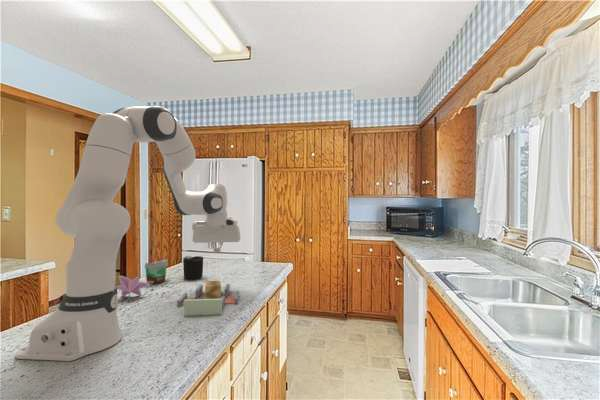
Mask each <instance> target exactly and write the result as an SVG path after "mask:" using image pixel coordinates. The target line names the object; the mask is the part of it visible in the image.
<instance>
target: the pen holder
mask: <svg viewBox="0 0 600 400" xmlns="http://www.w3.org/2000/svg"><path fill="white" fill-rule="evenodd" d="M182 260H183V261H182V262H183V263H182V264H183V268H182V269H183V279H184V280H186V281H196V280H197V279H198V280H201V279H202V278H203V274H204V273H203V271H204V257H203V256H201V255H199V256H197V255H195V256H193V257H190V258H189V257H188V258H187V257H184V258H182Z"/></svg>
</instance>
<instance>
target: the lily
mask: <svg viewBox="0 0 600 400" xmlns="http://www.w3.org/2000/svg"><path fill="white" fill-rule="evenodd" d="M118 279H119V283H120V284H118V285H116V287H117V291H118V290H119V291H121V293H120V294H121V296H122V297H126V296H127V295H128V297H130V295H131V293H132V294H134V295H137V296H142V292H141V289H143V288H145V287H149V286H151V284H149V283H147V281H146V282H145V281H140V276H136V277H134V278H132V279H131V278H129V277H126V276H124V275H119V276H118ZM127 302H128V303H130V300H128V301H127Z"/></svg>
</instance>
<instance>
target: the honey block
mask: <svg viewBox="0 0 600 400" xmlns="http://www.w3.org/2000/svg"><path fill="white" fill-rule="evenodd" d="M204 287H205V289H204V292H205V293H204V299H220V298H221V297H222V283H221V280H220V279H219V280H208V281H207V280H206V281H205V283H204Z"/></svg>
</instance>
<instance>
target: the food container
mask: <svg viewBox="0 0 600 400" xmlns="http://www.w3.org/2000/svg"><path fill="white" fill-rule="evenodd" d="M168 262H169V261H168V259H167V258H164V257H163V258H161V260H158V261H153V262H149V263H147V262H146V263H145V264H144V269H145V276H146V283H149V284H153V285H158V284H159V283H160V284H163V283H165V282H166V276H167V274H166V273H167V265H169V263H168ZM160 284H159V285H160Z"/></svg>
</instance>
